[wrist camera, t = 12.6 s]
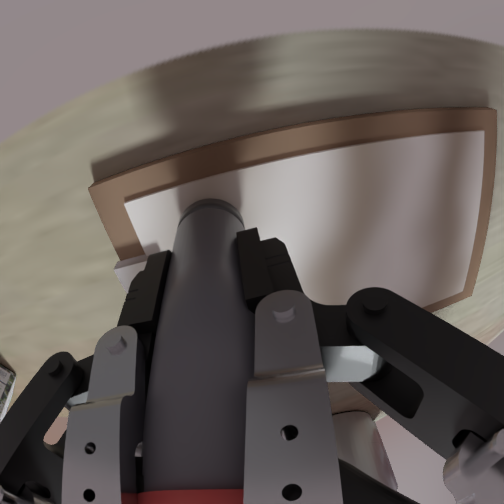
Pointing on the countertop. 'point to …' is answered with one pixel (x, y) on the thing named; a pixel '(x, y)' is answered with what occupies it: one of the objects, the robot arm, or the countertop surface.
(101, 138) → the countertop surface
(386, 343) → the robot arm
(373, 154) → the clipboard
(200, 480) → the marker
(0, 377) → the syrup box
